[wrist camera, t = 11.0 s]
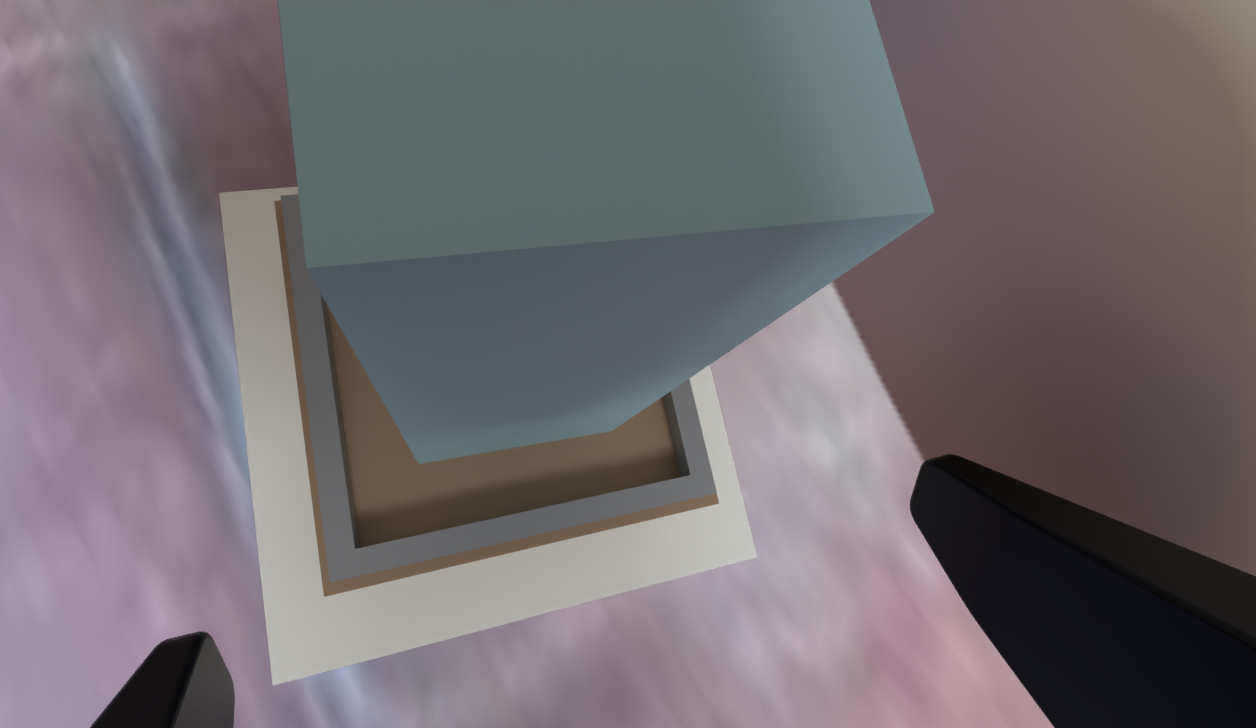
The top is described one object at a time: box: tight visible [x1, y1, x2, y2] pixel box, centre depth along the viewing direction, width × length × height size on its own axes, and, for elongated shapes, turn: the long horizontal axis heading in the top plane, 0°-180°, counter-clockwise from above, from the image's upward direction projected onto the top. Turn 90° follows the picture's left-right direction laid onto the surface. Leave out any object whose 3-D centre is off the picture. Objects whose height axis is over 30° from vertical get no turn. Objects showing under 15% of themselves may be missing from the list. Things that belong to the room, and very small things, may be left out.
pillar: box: [278, 0, 934, 464], centre depth 12 cm, size 5×5×13 cm
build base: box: [219, 187, 757, 686], centre depth 19 cm, size 14×14×5 cm
